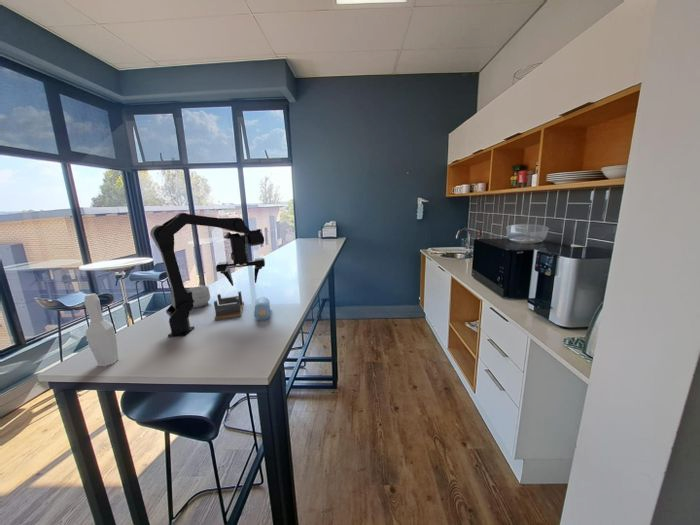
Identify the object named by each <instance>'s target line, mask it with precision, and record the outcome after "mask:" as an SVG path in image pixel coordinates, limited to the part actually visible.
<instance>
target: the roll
mask: <svg viewBox="0 0 700 525" xmlns="http://www.w3.org/2000/svg"><path fill="white" fill-rule="evenodd" d="M270 305H271V303H270V300H269V298H268V297H266V296H260V297H258V298H257V299H256V300H255V305H254V310H253V316H254V318H255V319H256V320H257V321H259V322H261V321H263V322H264V321H267V320H268V319H269V318H270V315H271V306H270Z"/></svg>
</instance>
